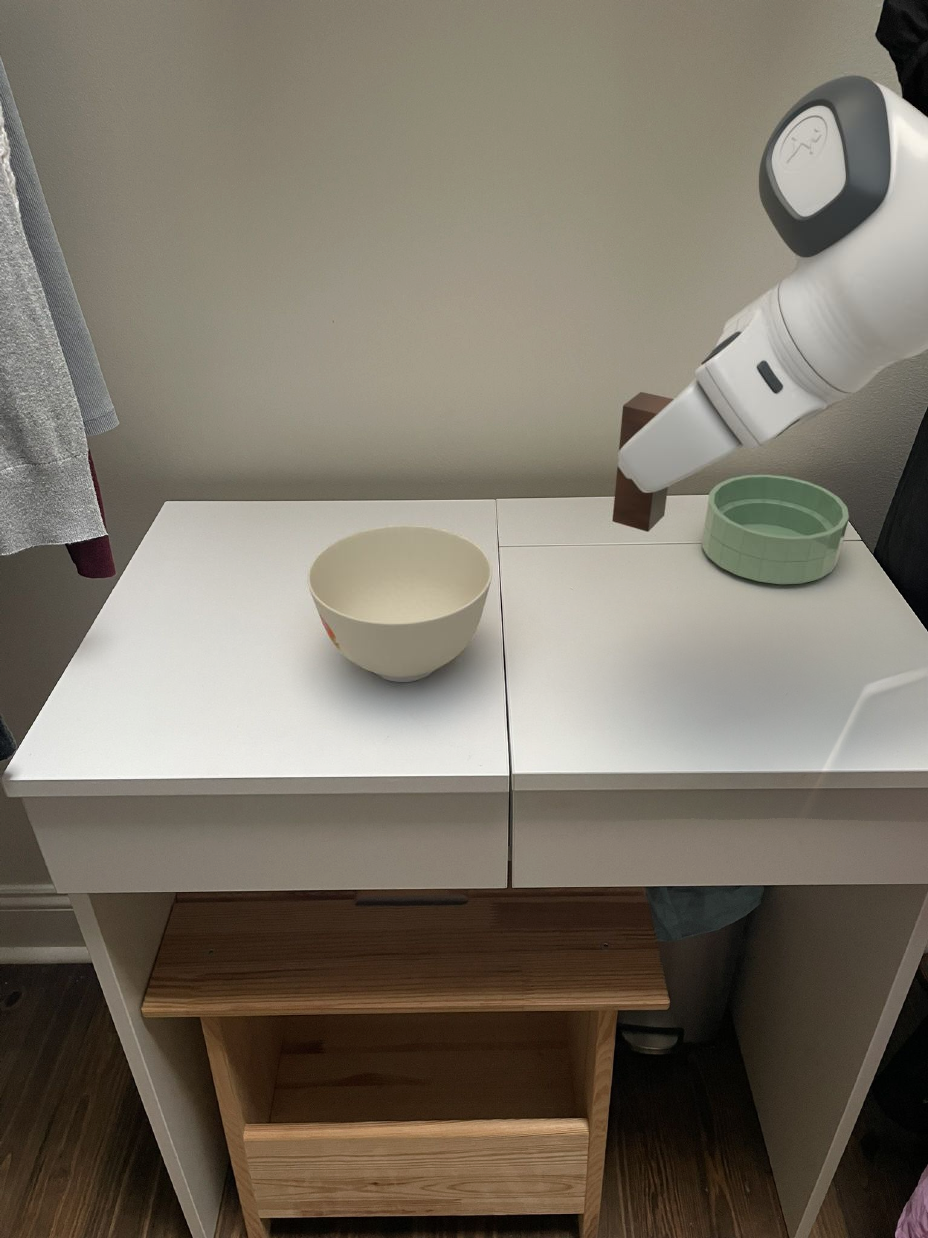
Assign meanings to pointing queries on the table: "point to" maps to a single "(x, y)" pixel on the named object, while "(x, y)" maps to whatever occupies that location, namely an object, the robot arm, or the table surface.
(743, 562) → the dish
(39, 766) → the table surface
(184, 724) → the table surface
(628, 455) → the robot arm
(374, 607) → the bowl
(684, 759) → the table surface
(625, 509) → the block
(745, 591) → the table surface
